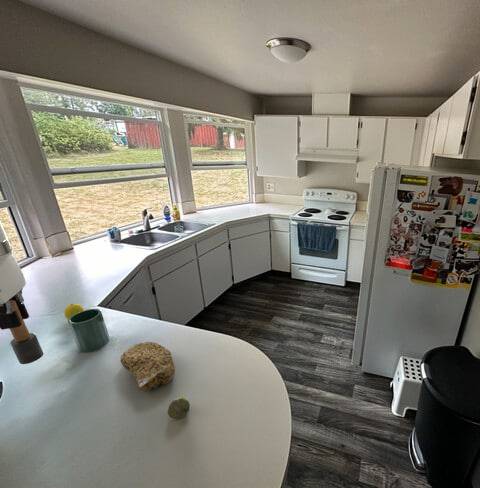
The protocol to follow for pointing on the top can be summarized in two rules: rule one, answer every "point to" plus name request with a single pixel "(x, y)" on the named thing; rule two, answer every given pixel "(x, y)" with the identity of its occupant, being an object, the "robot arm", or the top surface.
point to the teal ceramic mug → (89, 330)
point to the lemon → (72, 310)
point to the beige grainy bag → (149, 364)
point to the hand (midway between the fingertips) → (15, 322)
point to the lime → (178, 408)
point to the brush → (24, 341)
